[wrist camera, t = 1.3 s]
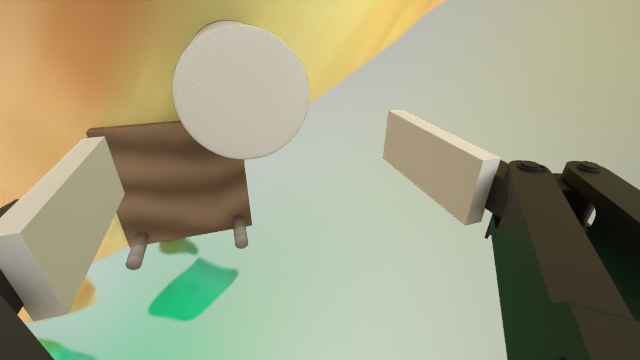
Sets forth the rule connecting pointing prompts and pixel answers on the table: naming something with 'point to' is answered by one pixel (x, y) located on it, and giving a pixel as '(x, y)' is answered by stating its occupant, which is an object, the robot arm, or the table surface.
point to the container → (240, 90)
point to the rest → (174, 186)
